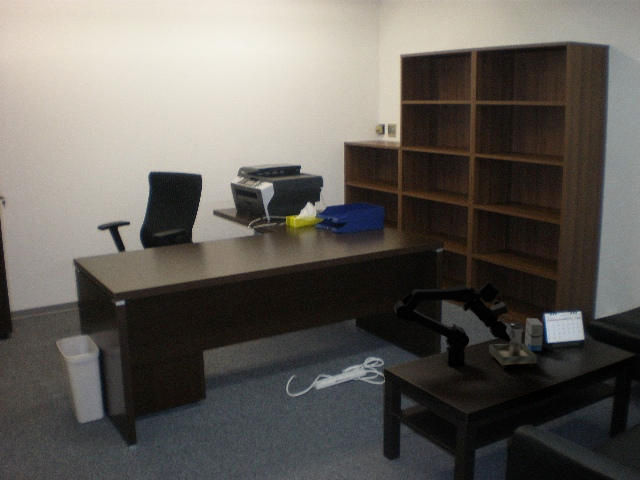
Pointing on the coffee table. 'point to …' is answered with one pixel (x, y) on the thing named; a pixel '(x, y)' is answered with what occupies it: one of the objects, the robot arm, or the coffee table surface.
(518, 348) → the metal canister
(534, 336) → the ink box
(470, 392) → the coffee table surface
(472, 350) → the coffee table surface
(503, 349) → the shallow grey tray
